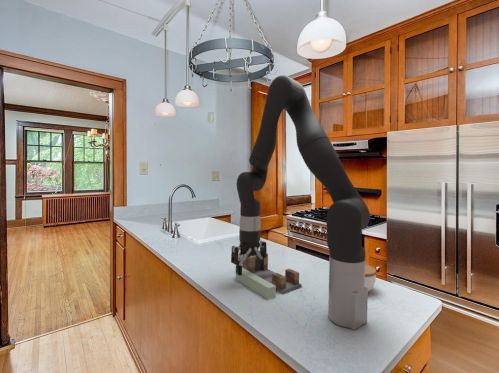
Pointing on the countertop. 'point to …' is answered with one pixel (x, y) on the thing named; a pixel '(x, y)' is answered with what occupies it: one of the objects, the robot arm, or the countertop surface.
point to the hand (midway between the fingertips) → (249, 272)
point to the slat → (257, 284)
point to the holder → (273, 275)
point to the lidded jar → (370, 276)
